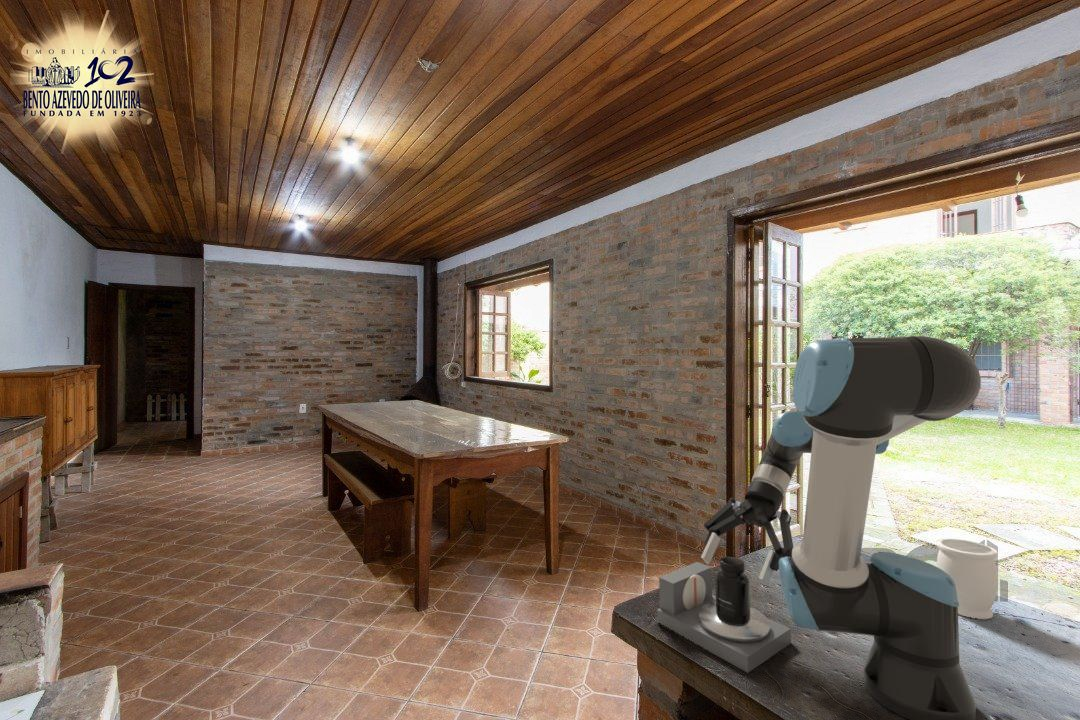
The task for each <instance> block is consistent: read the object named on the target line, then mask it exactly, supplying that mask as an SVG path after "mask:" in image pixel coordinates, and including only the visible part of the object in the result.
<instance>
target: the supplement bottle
mask: <svg viewBox="0 0 1080 720" xmlns="http://www.w3.org/2000/svg"><path fill="white" fill-rule="evenodd" d="M719 564H720V565H719V570H718V571H716V573H715V596H716V614H717V616H718V617H719V618H720V619H721V620H722V621H724V622H726V623H729V624H733V625H744V624H746V623H748V622H749V621H750V607H751V581H750V578H749V576H748V575H747V574H746V573H745V572H746V568H745V562H744V560H742V559H741V558H737V557H733V556H723V557H721V558H720V562H719Z"/></svg>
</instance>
